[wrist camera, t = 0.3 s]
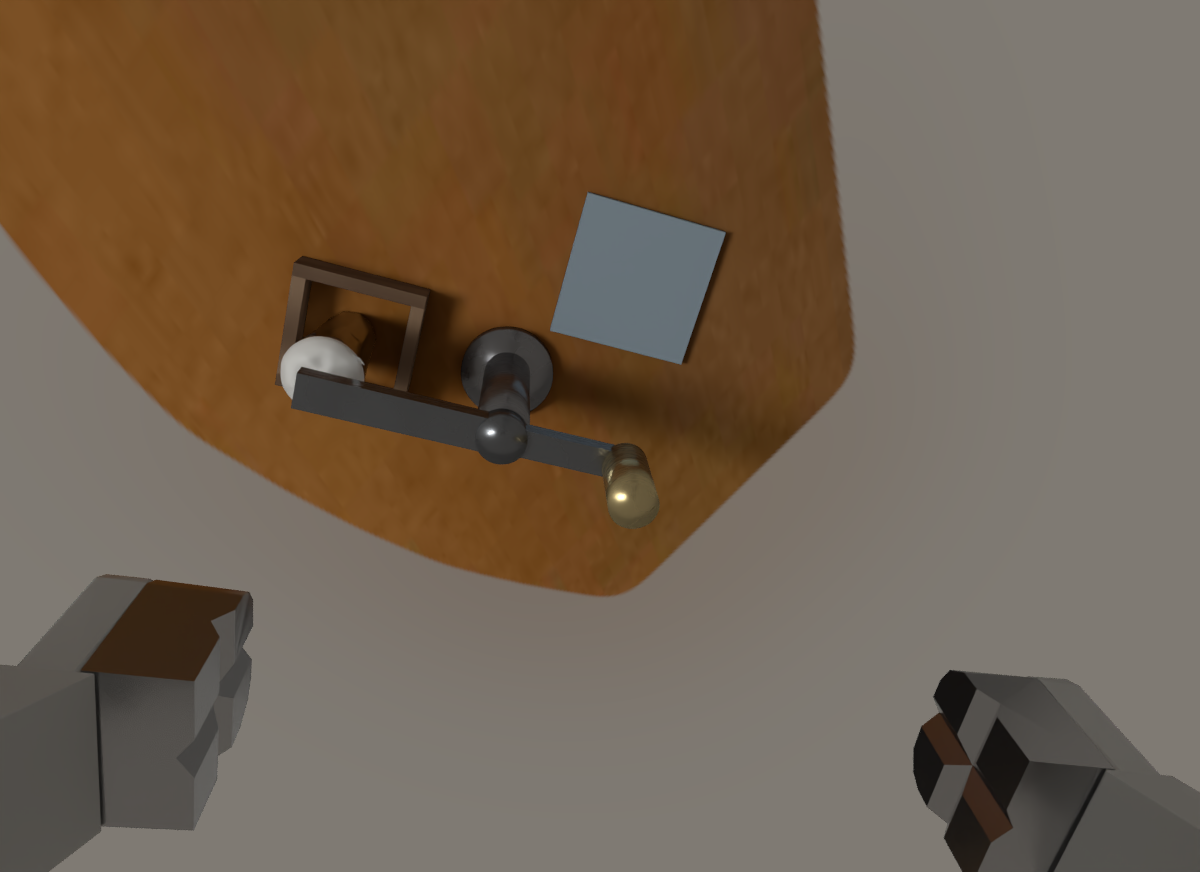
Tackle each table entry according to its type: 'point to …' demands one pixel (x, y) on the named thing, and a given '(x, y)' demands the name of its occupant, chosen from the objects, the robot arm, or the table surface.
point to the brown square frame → (361, 283)
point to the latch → (486, 436)
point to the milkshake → (332, 350)
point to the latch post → (507, 371)
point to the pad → (636, 278)
